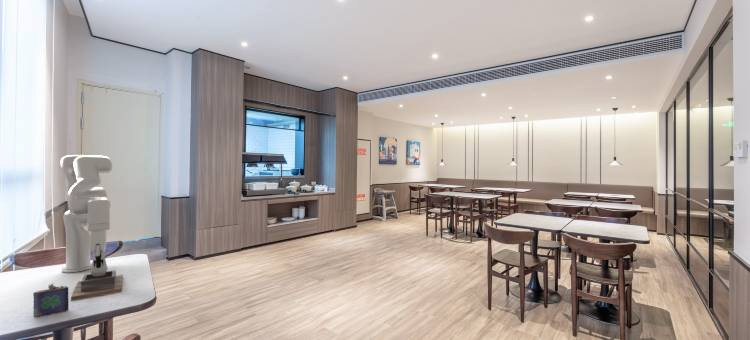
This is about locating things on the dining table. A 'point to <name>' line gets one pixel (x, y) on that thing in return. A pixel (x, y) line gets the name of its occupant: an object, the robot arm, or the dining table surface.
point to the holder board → (97, 285)
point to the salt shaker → (100, 270)
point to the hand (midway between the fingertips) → (99, 267)
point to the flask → (50, 301)
